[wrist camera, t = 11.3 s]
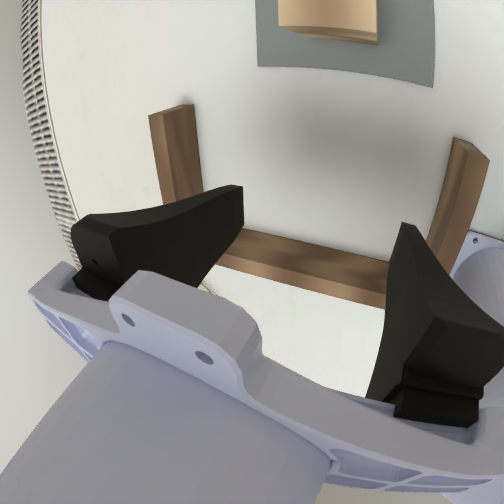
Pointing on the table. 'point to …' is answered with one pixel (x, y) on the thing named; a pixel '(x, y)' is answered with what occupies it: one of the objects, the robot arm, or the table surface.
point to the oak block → (331, 19)
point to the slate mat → (357, 54)
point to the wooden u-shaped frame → (305, 254)
